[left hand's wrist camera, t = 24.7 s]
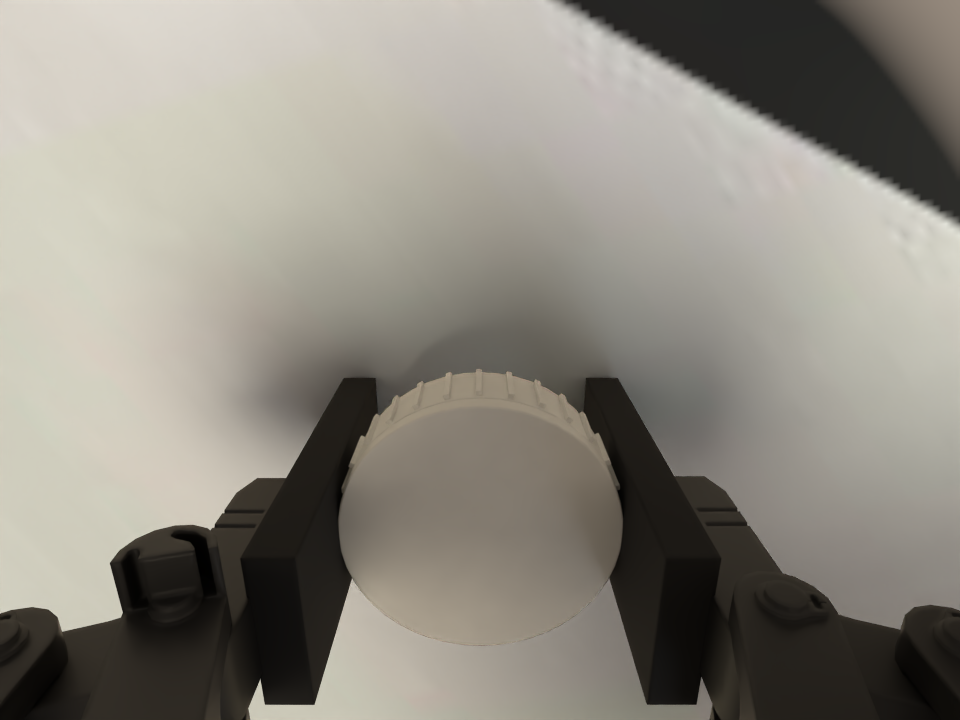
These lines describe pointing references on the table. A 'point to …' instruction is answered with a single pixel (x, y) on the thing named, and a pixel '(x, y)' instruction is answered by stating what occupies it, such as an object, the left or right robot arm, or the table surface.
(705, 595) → the left robot arm
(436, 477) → the lid
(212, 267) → the table surface
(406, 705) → the table surface
